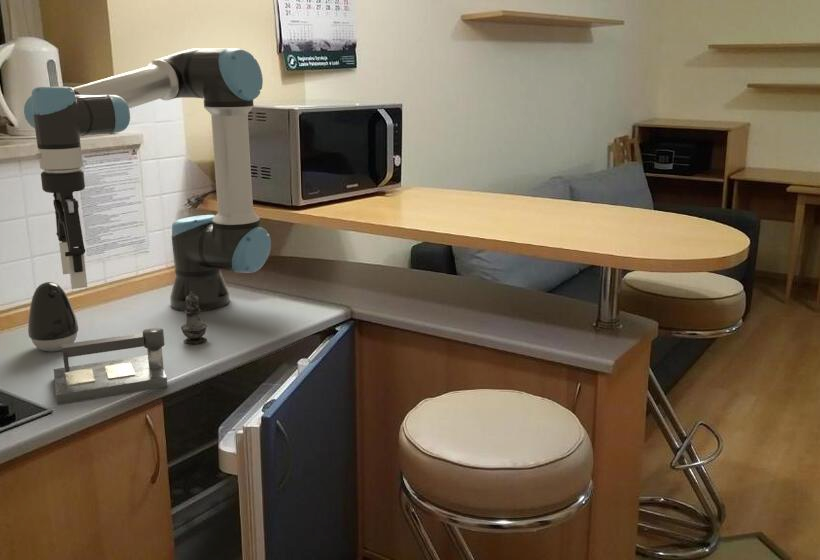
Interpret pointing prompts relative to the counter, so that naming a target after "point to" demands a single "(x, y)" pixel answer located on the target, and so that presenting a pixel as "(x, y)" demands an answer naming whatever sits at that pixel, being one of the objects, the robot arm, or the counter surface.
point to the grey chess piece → (193, 322)
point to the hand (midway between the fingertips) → (74, 280)
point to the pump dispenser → (51, 318)
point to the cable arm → (113, 344)
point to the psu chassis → (110, 378)
